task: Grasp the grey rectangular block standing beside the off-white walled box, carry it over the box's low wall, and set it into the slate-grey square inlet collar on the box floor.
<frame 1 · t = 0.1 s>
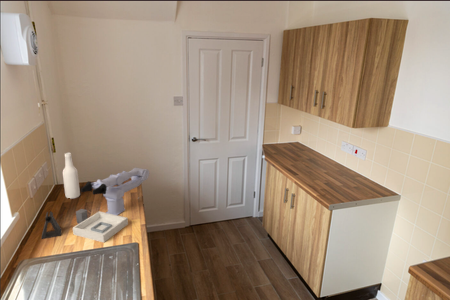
hand: (87, 191, 162), 22 cm above the countertop, tool horizontal, fingers open, 7 cm apart
alcohol: (73, 196, 205), on the countertop
grey rectangular block: (82, 222, 173), on the countertop
box: (101, 229, 167), on the countertop
phone stand: (51, 234, 161), on the countertop
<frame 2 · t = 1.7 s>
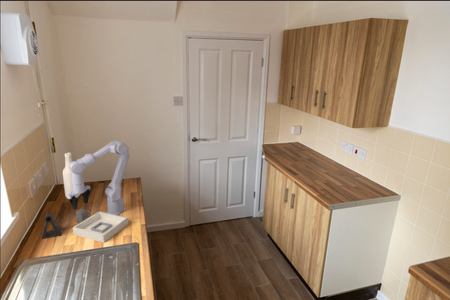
hand: (80, 205, 171), 10 cm above the countertop, tool pointing down, fingers open, 7 cm apart
nothing on the countertop moved.
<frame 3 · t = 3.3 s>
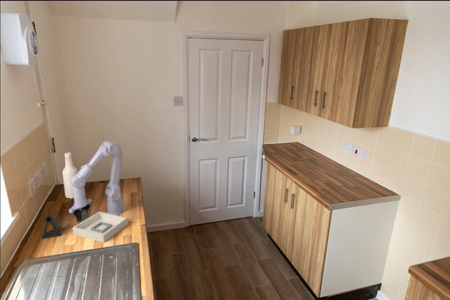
hand: (82, 219, 173), 2 cm above the countertop, tool pointing down, fingers closed on grey rectangular block, 4 cm apart
grey rectangular block: (82, 222, 173), on the countertop, touching gripper
everything else where it was.
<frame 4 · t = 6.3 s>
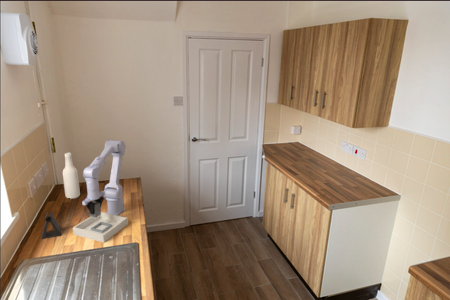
hand: (95, 211, 166), 9 cm above the countertop, tool pointing down, fingers closed on grey rectangular block, 4 cm apart
grey rectangular block: (95, 215, 166), point 7 cm above the countertop, touching gripper
everything else where it was.
when the fingers open (4 cm above the countertop, at t = 9.3 s): grey rectangular block drops 1 cm, resting on box.
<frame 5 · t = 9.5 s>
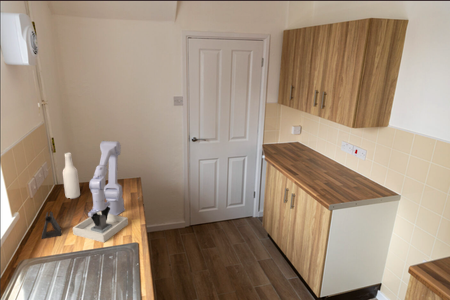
hand: (101, 222, 166), 4 cm above the countertop, tool pointing down, fingers open, 5 cm apart
grey rectangular block: (101, 228, 167), point 1 cm above the countertop, touching box
everything else where it was.
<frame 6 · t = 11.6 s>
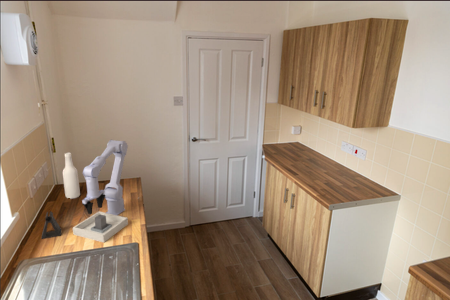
hand: (95, 210, 167), 9 cm above the countertop, tool pointing down, fingers open, 7 cm apart
nothing on the countertop moved.
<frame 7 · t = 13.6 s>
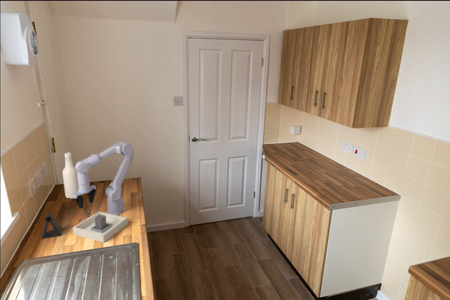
hand: (86, 205, 173), 9 cm above the countertop, tool pointing down, fingers open, 7 cm apart
nothing on the countertop moved.
at the end: grey rectangular block 0.2 cm off-centre on the box, point 0.5 cm above the box's base; grey rectangular block tilted 0°; the gripper is holding nothing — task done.
